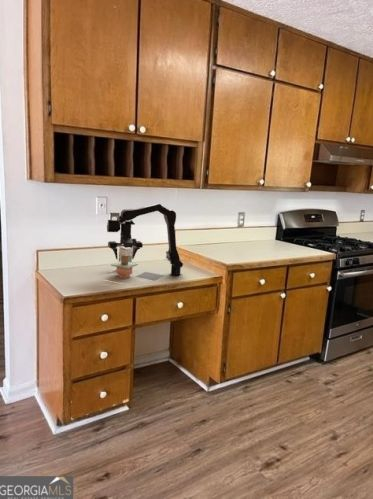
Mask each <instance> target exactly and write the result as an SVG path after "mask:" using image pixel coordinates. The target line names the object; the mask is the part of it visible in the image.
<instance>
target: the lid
mask: <svg viewBox="0 0 373 499" xmlns="http://www.w3.org/2000/svg"><path fill="white" fill-rule="evenodd" d="M128 257H129V255H121V261H119V260H118V261H117V262H113V263H112V264H110V266H111V267H115V268H117V267H121V268H126V269H129V268H131V267H132V268H134V267H137V266H138V265H139V263H137V262H128Z"/></svg>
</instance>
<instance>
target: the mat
mask: <svg viewBox="0 0 373 499" xmlns="http://www.w3.org/2000/svg"><path fill="white" fill-rule="evenodd" d="M164 276H165V275H164V274H160V273H153V272H148V271H144V272H142V273H141V274H138V275H136V276H134V277H135V278H139V279H143V280H144V279H146V280H150V281H157V280H159V279H161V278H163V277H164Z"/></svg>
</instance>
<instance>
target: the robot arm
mask: <svg viewBox="0 0 373 499" xmlns="http://www.w3.org/2000/svg"><path fill="white" fill-rule="evenodd" d="M155 212H159V213H160V214H161V215H163V219H164V222H165V224H166V229H167V241H168V242H167V243H168V249H167V250H168V251H165V254H166V257H165V258H166V259H167V261H168V262H169V264H170V265H171V266H170V273H169V274H168V276H172V277H181V276H182V275H183V273H181V272H182V271H181V268H183V266H184V263H183V262H182V260H181V259H180V254H179V253H178V250H177V241H176V229H175V228H176V226H175V225H176V222H177V213H176V212H175V211H174V210H172V209H170V208H166V207H165V206H163V205H162V204H160V203H157V202H156V203H154V204H150V205H146V206H141V207H138V208H126V209H122V210H121V211H120V215H119V217H118V218H117V219H115V220H114V219H107V223H106V224H107V225H106V232H107V233H119V232H120V234H119V235H120V238H119V242H116V241H115V240H114V241H111V240H110V241H108V242H107V247H108V248H109V249H111V250H112V251H113V254H114V256H115V259H116V260H118V259H119V255H118V247H122V246H124V247H125V248H129V247H130V248H132V260H134V258H135V257H136V254H137V252H138V251H139V250H140V249H141V248H143V242H142V241H141V240H137V238H132V226H134V225H136V223H134V221H133V220H134V219H135V218H137V217H139V216H143V215H146V214H147V215H148V214H151V213H155Z"/></svg>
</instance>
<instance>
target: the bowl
mask: <svg viewBox="0 0 373 499" xmlns="http://www.w3.org/2000/svg"><path fill="white" fill-rule="evenodd" d="M115 268H116V271H115V272H116V274H117V275H118V277H119V278H123V279H126V278H127V279H128V278H130V277H131V275H132V274H133V267H131V268H129V269H126V268H121V267H115Z"/></svg>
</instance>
